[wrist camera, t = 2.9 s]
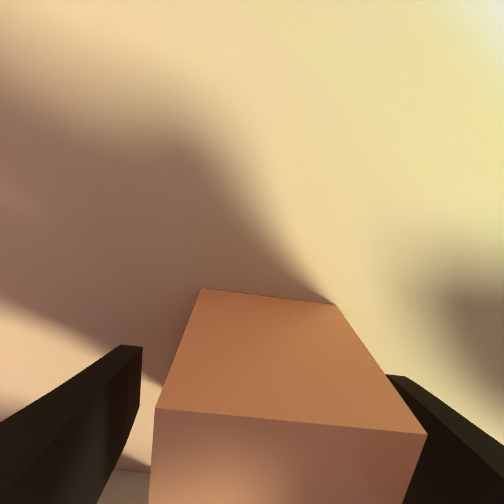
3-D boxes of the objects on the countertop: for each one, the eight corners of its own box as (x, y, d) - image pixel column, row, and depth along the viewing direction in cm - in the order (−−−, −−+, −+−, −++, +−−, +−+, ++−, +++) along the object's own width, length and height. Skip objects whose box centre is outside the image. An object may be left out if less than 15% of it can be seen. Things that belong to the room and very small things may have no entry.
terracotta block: (335, 303, 10) (427, 434, 5) (309, 413, 11) (362, 608, 6) (201, 287, 9) (155, 407, 4) (189, 401, 10) (141, 594, 6)
